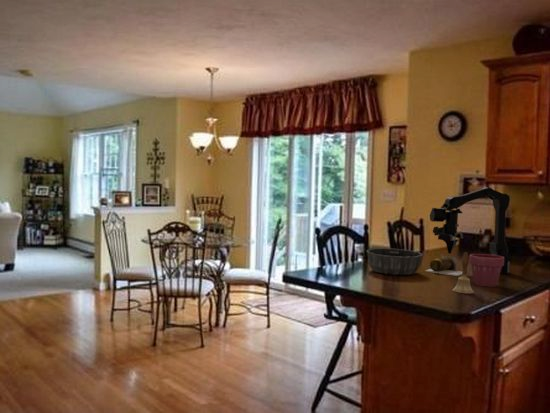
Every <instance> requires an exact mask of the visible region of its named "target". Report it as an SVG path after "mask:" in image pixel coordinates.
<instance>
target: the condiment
mask: <svg viewBox="0 0 550 413" xmlns="http://www.w3.org/2000/svg"><path fill="white" fill-rule="evenodd" d="M429 267H430V269H432V270H434V271H441V270H452V271H457V257H454V256H449V255H442V254H441V255H440V258H436V259H435V258H434V259H433V260H431V261H430V263H429Z"/></svg>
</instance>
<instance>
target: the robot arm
mask: <svg viewBox="0 0 550 413" xmlns="http://www.w3.org/2000/svg"><path fill="white" fill-rule="evenodd" d="M485 197H486V198H488V199H489V200H491V201H492V207H493V208H494V210H495V211H494V212H495V214H494V216H495V218H494V234H493V235H494V236H493V237H494V238H493V240H492V241H491V242H489V249H488V251H490V255H498V256H503V257H504V266H502V268H501V272H500V274H506V275H507V274H510V272H511V271H510V262H512V260H513V256H512V255H510V253H509V251H508V245H507V242H506V238H505V236H506V219H507V218H506V216H507V210H508V208H509V206H510V201H511V197H510V195H508V193H502V192H500V191H497V190H495V189H493V188H491V187H489V186H487V187H486V186H485V187H482V188H479V189H477V190H474V191H471V192H468V193H464V194H462V195H454V196H448V197H446V198H445V201H444V203H443V204H442V205H441V207H440V208H437V207H432V208H431V211H430V214H429V221H431V222H434V223H435V222H437V223H438V222H439V223H443V225H442V227H439V226H433V229H432V233H433V235H434V236H437V240H441V241H443V242H444V243H445V245H446V248H447V252H448V254H452V253H453V251H454V249H455V247H456V245H457V243H458V241H459V239H464V234H463V233H462V232H459V231H458V227H459V224H458V223H459V222H458V220H459V218H458V217H459V214H463V211H462V210H461V209H460V208H461V207H462V206H463V205H465V204H466V203H469V202H472V201H475V200H478V199H481V198H485ZM444 221H445V223H444ZM458 238H459V239H458Z"/></svg>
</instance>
